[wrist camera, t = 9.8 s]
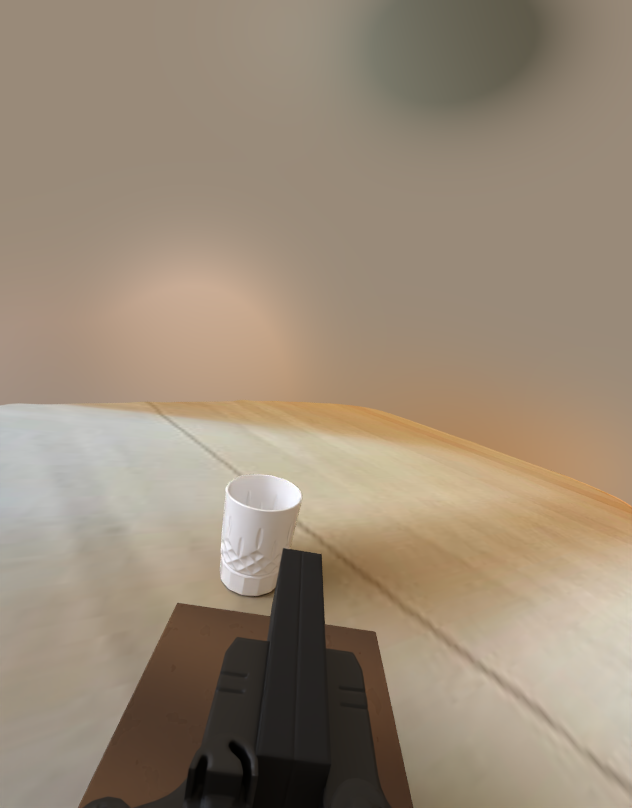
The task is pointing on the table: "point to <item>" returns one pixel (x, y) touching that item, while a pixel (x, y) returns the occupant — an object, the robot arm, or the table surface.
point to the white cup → (257, 531)
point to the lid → (192, 698)
